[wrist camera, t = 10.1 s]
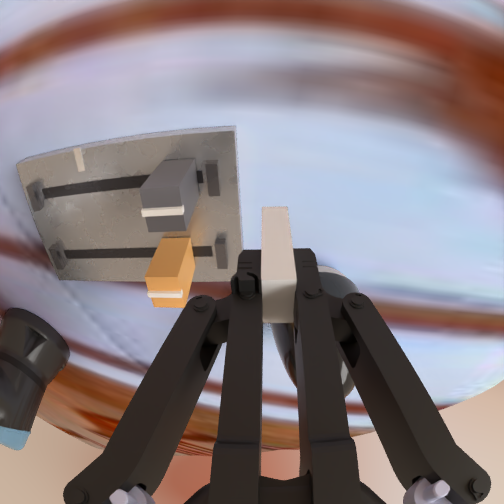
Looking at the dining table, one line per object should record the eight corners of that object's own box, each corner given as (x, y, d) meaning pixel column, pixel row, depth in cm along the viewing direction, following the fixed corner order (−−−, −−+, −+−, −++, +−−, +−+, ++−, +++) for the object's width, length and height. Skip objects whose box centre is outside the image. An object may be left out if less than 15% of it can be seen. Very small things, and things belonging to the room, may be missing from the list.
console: (66, 271, 36) (56, 286, 34) (25, 156, 27) (10, 166, 24) (245, 270, 35) (243, 288, 33) (235, 123, 26) (233, 131, 23)
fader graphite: (167, 197, 28) (146, 234, 22) (161, 161, 26) (136, 191, 20) (200, 195, 28) (185, 233, 22) (195, 158, 25) (178, 188, 20)
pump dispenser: (260, 311, 39) (260, 422, 27) (279, 243, 33) (289, 366, 21) (335, 319, 40) (356, 423, 27) (366, 258, 34) (408, 369, 22)
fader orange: (167, 266, 32) (152, 309, 27) (161, 238, 30) (142, 279, 25) (195, 266, 32) (185, 310, 27) (190, 237, 30) (177, 279, 25)
